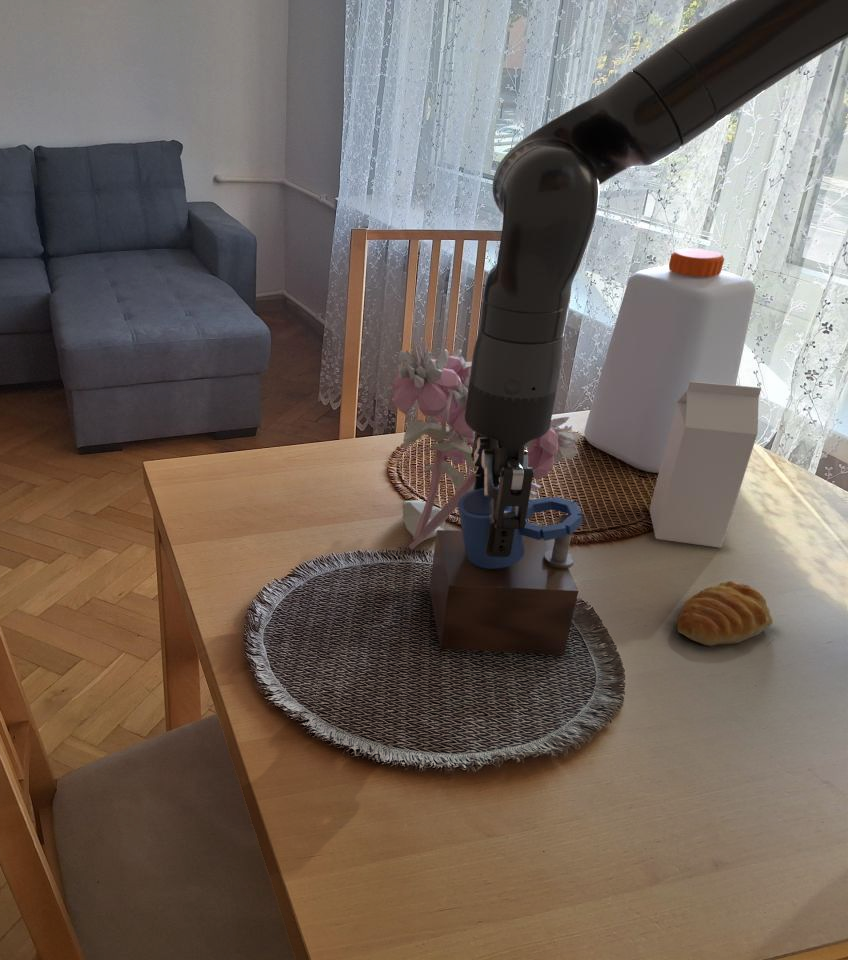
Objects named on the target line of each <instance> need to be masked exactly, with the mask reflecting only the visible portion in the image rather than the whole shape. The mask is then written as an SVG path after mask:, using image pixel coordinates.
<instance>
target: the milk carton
mask: <svg viewBox="0 0 848 960" xmlns="http://www.w3.org/2000/svg"><path fill="white" fill-rule="evenodd" d="M761 391H762V388H761V387H759V386H747V385H737V384H736V385H726V384H715V383H704V382H693V381H690V382H689V385H688V389H687V391H686V392H685V393H684V394H683V396H682V397H681V398H680V399H679V400H678V402H677V405H676V409H675V413H674V416H673V420H672V424H671V428H670V432H669V436H668V439H667V443H666V447H665V451H664V455H663V459H662V463H661V466H660V470H659V473H657V474H658V475H657V479H656V482H655V486H654V490H653V494H652V498H651V502H650V505H649V513H650V518H651V523H652V528H653V533H654V538H655V539H656V540H661V541H670V542H677V543H683V544H691V545H698V546H704V547H711V548H718V549H719V548H722V546H723V544H724V542H725V537H726V534H727V532H728V528H729V525H730V521H731V518H732V516H733V512H734V510H735V506H736V503H737V501H738V500H737V499H738V497H739V493H740V490H741V487H742V484H743V481H744V478H745V474H746V472H747V471H746V470H747V468H748V464H749V462H750V459H751V456H752V453H753V448H754V446H755V442H756V439H757V437H758V433H759V432H758V431H759V403H760V402H759V401H760V400H759V398H760V394H761Z"/></svg>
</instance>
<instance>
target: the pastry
mask: <svg viewBox="0 0 848 960" xmlns="http://www.w3.org/2000/svg"><path fill="white" fill-rule="evenodd" d="M681 610H682V611H681V613H680V614H679V615H678V617H677V632H678V633H679V634H682V635H684V636H685V637H686V638H688V639H689V640H692V641H694V642H697V643H699V644H702V645H704V646H710V647H713V646H719V645H736V644H740V643H741V642H744V641H746V640H749V639H751V638H753V637H756V636H757V635H760V634H762V632H763V631H765V630H767V629H768V628H770V627H771V626H772V625H773V621H774V620H773V617H772V616H771V613H770V612H771V610H770V608H769V607H768V605H767V599H766V598H765V597H764V596H763V594H761V593H760V592H759V591H758V590H756V589H755V588H754V587H751V586H750V585H748V584H745V583H736V582H734V581H731V580H729V581H727V582H720V583H719V584H718V585H715V586H710V587H707V588H704V589H703V590H700V591H699V592H697V593H696V594H694V595H693V596H691V597H690V598H689V599H688V600H687V601H686V603H685V605H684V606H683V608H682V609H681Z"/></svg>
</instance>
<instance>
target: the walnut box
mask: <svg viewBox="0 0 848 960" xmlns="http://www.w3.org/2000/svg"><path fill="white" fill-rule="evenodd" d="M568 517H569V515H568V514H561V515H559V518H558V521H557V522H558V523H557V524H559V523H562V522H563V521H564V520H565V519H567V518H568ZM572 535H573V533H572V534H571V535H569V534H567V537H562V538H556V539H550V540H544V539H543V538H542V539H541V540H537V539H534V538H530V537H527V536H524V535H523V539H524V546H525V553H524V555H523V557H522V558H521V559H520V560H519V561H518V562H516V563H514V564H512V565H510V566H507V567H503V568H497V569H488V568H482V567H478V566H476V565H474V564H472V563H471V562H470V561H469V560H468V558H467V555H466V549H465V543H464V538H463V532H462V530H452V529H451V530H447V529H445V530H437V533H436V536H435V544H434V551H433V559H432V565H431V566H432V567H431V575H430V583H429V595H430V600H431V605H432V610H433V611H432V612H433V615H434V621H435V626H436V632H437V637H438V644H439V647H440V650H456V651H475V652H477V651H478V652H495V653H512V654H513V653H514V654H531V655H533V654H534V655H553V656H564V655H565V654H566V653H565V652H566V648H567V644H568V639H569V635H570V631H571V626H572V622H573V617H574V612H575V608H576V605H577V599H578V595H579V589H578V586H577V585H576V582H575V579H574V578H573V575H572V573H571V571H570V568H571V567H573V565H574V563H575V558H574V556H573V555H572V554H570V553H569V550H570V549H569V548H570V545H571V539H572Z"/></svg>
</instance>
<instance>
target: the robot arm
mask: <svg viewBox="0 0 848 960" xmlns="http://www.w3.org/2000/svg"><path fill="white" fill-rule="evenodd" d="M846 39H848V0H734V1H732V2H730V3H728V4H726V5H725V6H723V7H721V8H720V9H718V10H716V11H714V12H713V13H711V14H709V15H708V16H707V17H705V18H703V19H701V20H700V21H698V22H697V23H695V24H694V25H692V26H691V27H689V28H688V29H686V30H684V31H683V32H682V33H680V34H678V35H677V36H676V37H675V38H673V39H672V40H670V41H669V42H668V43H666V44H665V45H663V46H662V47H661V48H659V49H658V50H656V51H655V52H654V53H653V54H651V55H649V56H648V57H647V58H646V59H644V60H643V61H641V62H640V63H639V64H638V65H636V66H635V67H633V68H632V69H631V70H630V71H628V72H626V74H624V75H623V76H622V77H621V78H619V79H618V80H617V81H615V83H613V84H612V85H611V86H610V87H607V89H605V90H604V91H602V92H601V93H599V94H597V95H595V96H594V97H592V98H590V99H588V100H586V101H584V102H582V103H579V105H576V106H575V107H573V108H571V109H570V110H568V111H566V112H564V113H563V114H561V115H559V116H558V117H556V118H554V119H552V120H550V121H549V122H547V123H545V124H544V125H542V126H541V127H539V128H537V129H536V130H534V131H533V132H531V133H530V134H528V135H527V136H525V137H524V138H523V139H522V140H521V141H519V142H518V143H517V144H516V145H514V146H513V147H512V148H511V149H509V151H508V152H507V153H506V154H505V155H504V157H503V158H502V159H501V160H500V162H499V164H498V165H497V167H496V170H495V172H494V175H493V178H492V186H491V187H492V197H493V201H494V203H495V205H496V207H497V208H498V211H500V214H502V228H501V235H500V242H499V249H498V252H497V253H498V254H497V261H496V264H494V265H493V266H492V268H491V269H490V270H489V272H488V275H487V278H486V282H485V285H484V292H483V296H482V297H483V298H482V306H481V312H480V319H479V327H478V333H477V336H476V340H475V344H474V348H473V353H472V358H471V361H472V365H471V372H470V380H469V388H468V396H467V403H466V411H465V421H466V424H467V425H468V426H469V428H470V429H472V430H473V431H474V432H475V437H474V444H473V448H472V449H471V450H472V453H471V458H472V461H474V466H473V469H472V472H474V474H475V475H478V476H475V482H474V489H473V491H474V490H477V489H481V488H484V495H485V497H486V498H487V499H489V501H490V515H489V520H490V522H489V528H488V535H487V541H486V548H485V550H486V553H487V555H488V556H490V557H508V556H509V555H510V554H511V549H512V543H513V537H514V532H515V529H524V527H525V525H526V515H527V509H528V503H529V497H530V490H531V491H532V487H531V484H532V483H533V479H534V478H533V475H534V473H533V470H532V468H527V466H528V451H526V450H525V446H524V445H525V444H526V443H527V442H529V441H531V440H533V439H537V438H540V437H542V436H543V435H544V434H546V433H547V431H548V430H549V428H550V424H551V420H552V417H553V412H554V406H555V401H556V395H557V390H558V385H559V379H560V374H561V368H562V363H563V352H564V350H563V349H564V337H565V335H564V334H565V332H566V331H565V329H566V325H567V321H568V314H569V309H570V304H571V295H572V287H573V282H574V279H575V278H576V275H577V273H578V271H579V268H580V266H581V263H582V260H583V258H584V256H585V252H586V250H587V247H588V244H589V241H590V238H591V235H592V232H593V229H594V226H595V222H596V217H597V213H598V208H599V207H598V206H599V199H600V198H599V197H600V186H601V185H602V184H603V183H605V182H607V181H609V180H610V179H613V178H614V177H615V176H617V175H619V174H620V173H622V172H623V171H626V170H629V169H631V168H638V167H639V168H640V167H648V166H651V165H654V164H656V163H658V162H660V161H662V160H664V159H665V158H668V157H669V156H671V155H672V154H674V153H675V152H677V151H678V150H680V149H681V148H683V147H684V146H686V145H687V144H689V143H690V142H692V141H693V140H694V139H696V138H697V137H699V136H700V135H702V134H703V133H705V132H706V131H709V129H711V128H712V127H714V126H715V125H717V124H718V123H719V122H721V121H722V120H724V119H725V118H727V117H728V116H730V115H731V114H732V113H734V112H735V111H736V110H737V111H738V109H740V108H741V107H743V106H744V105H745V104H747V103H748V102H750V101H751V100H753V99H755V98H756V97H757V96H759V95H760V94H761V93H763V92H765V91H766V90H768V89H769V88H771V87H772V86H774V85H776V84H777V83H779V82H780V81H781V80H783V79H784V78H786V77H788V76H789V75H790V74H792V73H794V72H795V71H797V70H798V69H800V68H801V67H803V66H804V65H806V64H808V63H810V62H811V61H812V60H814V59H815V58H817V57H819V56H820V55H822V54H824V53H825V52H827V51H828V50H830V49H831V48H833V47H835V46H836V45H839V44H840V43H842V42H843V41H845V40H846ZM498 485H499V490H498V489H495V488H494V487H498ZM507 506H512V512H511V511H504V509H505V507H507Z"/></svg>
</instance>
